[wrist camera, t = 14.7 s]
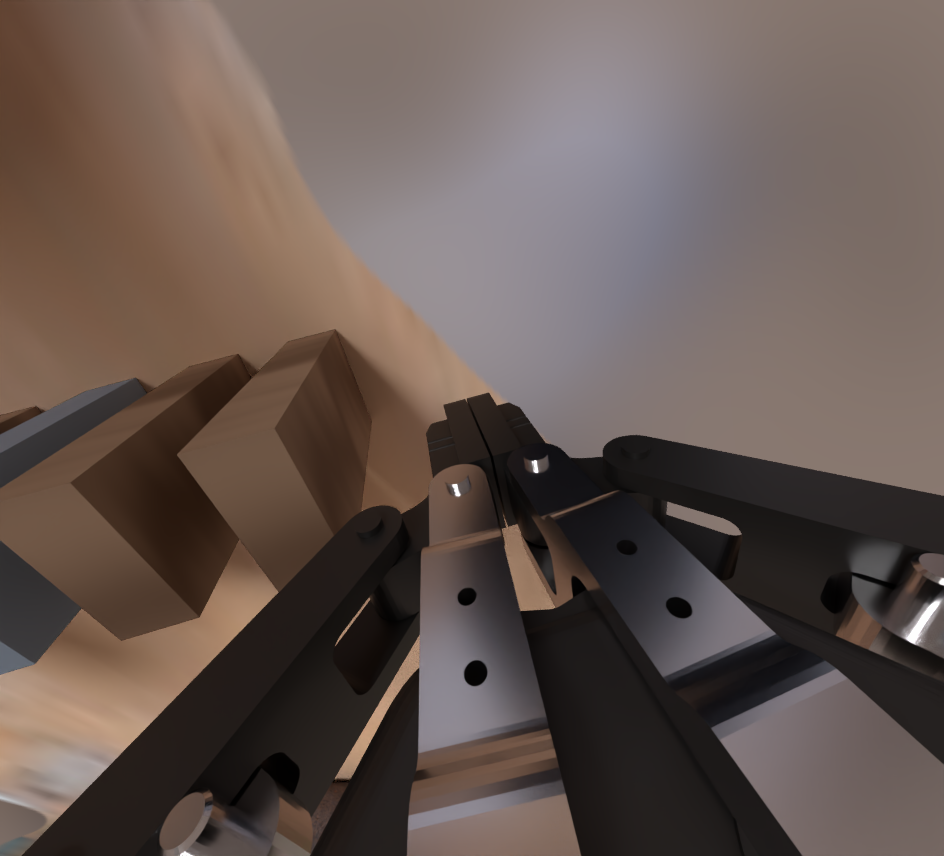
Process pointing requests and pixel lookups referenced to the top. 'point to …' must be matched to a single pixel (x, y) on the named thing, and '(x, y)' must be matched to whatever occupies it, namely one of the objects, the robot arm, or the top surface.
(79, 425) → the domino
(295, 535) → the domino
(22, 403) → the top surface
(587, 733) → the robot arm
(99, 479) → the domino
